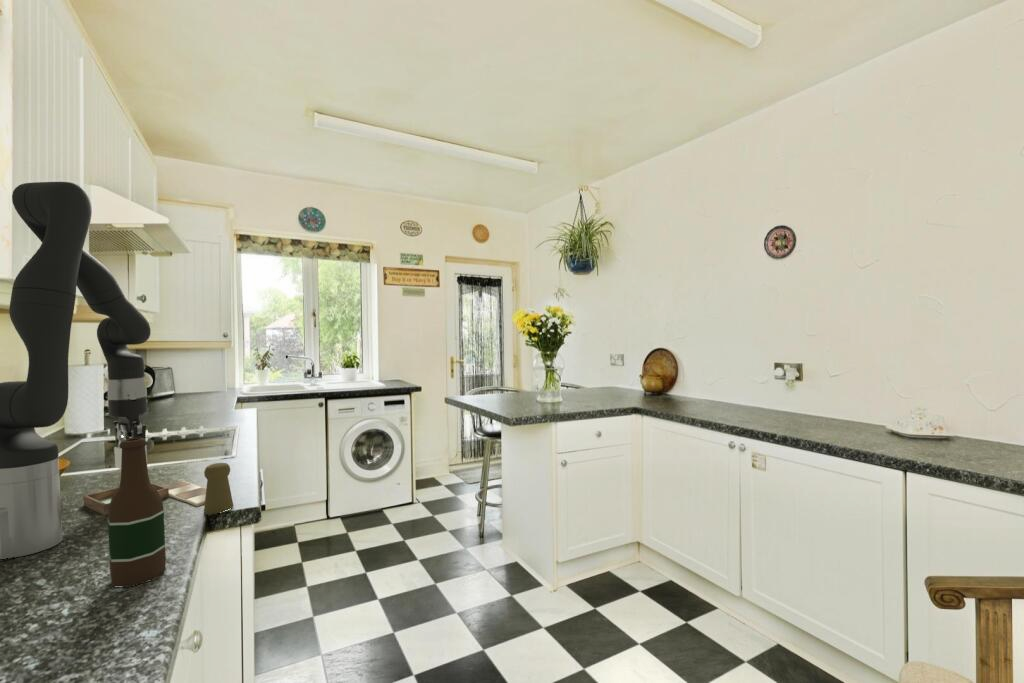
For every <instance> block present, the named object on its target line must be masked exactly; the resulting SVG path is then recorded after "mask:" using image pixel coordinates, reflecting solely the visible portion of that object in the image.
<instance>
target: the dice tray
mask: <svg viewBox="0 0 1024 683" xmlns="http://www.w3.org/2000/svg"><path fill="white" fill-rule="evenodd" d="M150 484H151V485H152V486H153V487H154V488H155V489H156V490H157V491H158V493H159V495H160V497H161V499H162V500H165V499H169V498H170V496H169V490H168V488H167V487H164V486H163V485H161V484H158V483H155V482H151V481H150ZM118 489H119V486H117V487H113V488H109V489H105V490H102V491H97V492H94V493H89V494H85V495H83V496H82V497H83V506H84V507H86V508H88V509H90V510H92V511H94V512H96V513H99V514H100V515H102V516H108V507H109V504H110V502H111V499H112V497H113V496H114V494H115V493H116V492H117V490H118Z"/></svg>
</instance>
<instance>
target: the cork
mask: <svg viewBox="0 0 1024 683" xmlns="http://www.w3.org/2000/svg"><path fill="white" fill-rule="evenodd" d="M230 472H231V467H230V465H229V463H227V462H217V463H215V462H214V463H212V464H209V465H207V466H206V467H205V468H204V472H203V473H204V474H203V475H204V478H205V479H206V480H207V482H206V487H205V488H206V497H205V504H204V508H203V514H204V515H207V514H208V515H209V516H213V515H212V514H215V515H218V514H217V513H220V512H223V511H225V510H228V509H230V508H232V507H233V506H234V502H233V496H232V491H231V486H230V480H229V477H228V476H229V475H230ZM233 508H234V507H233Z"/></svg>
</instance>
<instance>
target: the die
mask: <svg viewBox="0 0 1024 683" xmlns="http://www.w3.org/2000/svg"><path fill="white" fill-rule="evenodd" d="M147 447H148V446H147V444H146V445H145V452H146V461H147V462H148V450H147ZM113 451H114V466H115V468H117V469H120V470H121V460H122V449H121V448H120V447H119V446H118V445H117V446H114V447H113Z"/></svg>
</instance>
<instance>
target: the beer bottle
mask: <svg viewBox="0 0 1024 683" xmlns="http://www.w3.org/2000/svg"><path fill="white" fill-rule="evenodd" d="M145 445H146V446H147V445H148V443H147V441H146V438H145V439H144V438H130V439H126V440H123V441H121V443H120V446H119V447H120V448H121V449H122V460H121V469H120V482H119V486H118V487H119V489H118V490H117V492H116V493H115V494H114V496H113V497H112V499H111V502H110V504H109V507H108V515H107V530H108V531H107V532H108V553H109V557H108V558H109V572H110V580H111V583H112V586H113V588H114V587H115V586H133V585H136V584H140V583H142V582H146V581H148V580H152V579H154V578H155V577H157V576H158V575H159V574H161V573H162V572H164V573H165V571H166V560H167V557H166V537H165V536H166V534H165V533H166V532H165V510H164V502H163V499H161V497H160V495H159V493H158V491H157V490H156V489H155V488H154V487H153V486H152V485H151V484H150V482H151V481H150V477H149V471H148V470H149V469H148V460H147V461H146V452H145ZM162 574H163V573H162ZM162 574H161V575H162ZM159 576H160V575H159ZM159 576H158V577H159ZM158 577H157V578H158ZM155 579H156V578H155ZM155 579H154V580H155ZM152 581H153V580H152ZM146 583H147V582H146ZM140 585H141V584H140Z"/></svg>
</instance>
